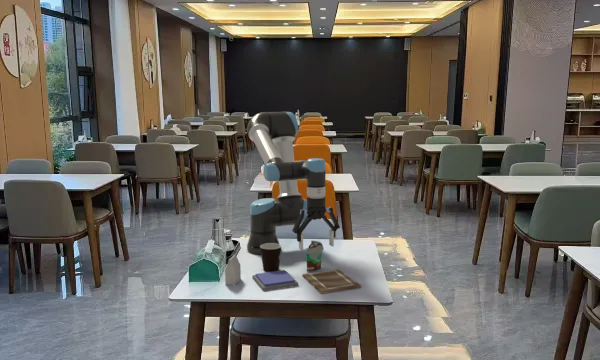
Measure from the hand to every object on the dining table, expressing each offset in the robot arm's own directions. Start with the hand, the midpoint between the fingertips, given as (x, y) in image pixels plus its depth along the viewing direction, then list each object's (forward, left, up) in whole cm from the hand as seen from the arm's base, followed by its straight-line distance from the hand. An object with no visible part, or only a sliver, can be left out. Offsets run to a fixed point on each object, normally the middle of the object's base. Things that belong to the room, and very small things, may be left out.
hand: (316, 247), depth 216 cm
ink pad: (+9, -21, -9) cm, 24 cm away
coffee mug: (-6, -17, -9) cm, 20 cm away
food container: (0, 0, -9) cm, 9 cm away
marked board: (+17, -1, -9) cm, 19 cm away
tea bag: (+3, -36, -9) cm, 37 cm away
